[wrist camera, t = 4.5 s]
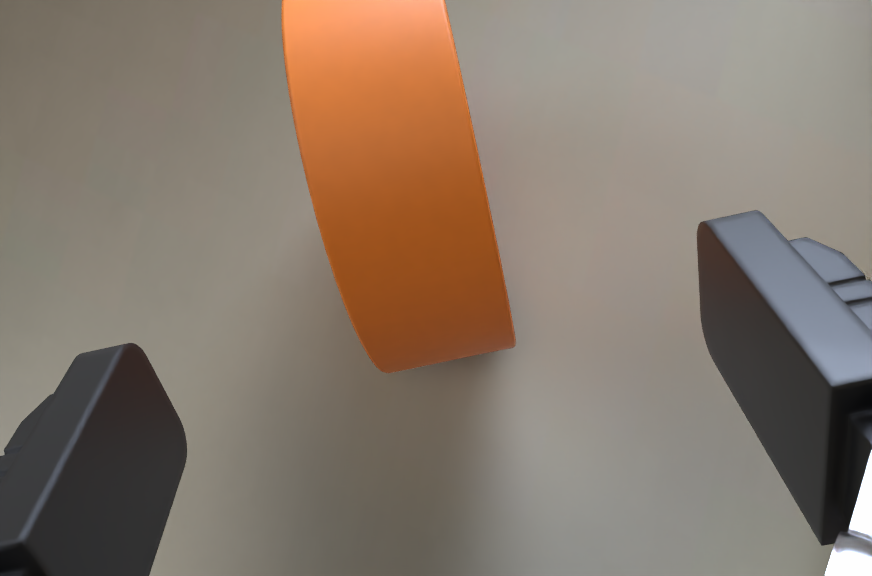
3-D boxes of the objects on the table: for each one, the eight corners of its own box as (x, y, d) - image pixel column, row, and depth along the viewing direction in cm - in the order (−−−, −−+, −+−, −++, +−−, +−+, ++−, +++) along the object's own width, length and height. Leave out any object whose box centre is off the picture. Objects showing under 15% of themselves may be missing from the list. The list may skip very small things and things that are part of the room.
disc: (359, 99, 23) (253, -124, 14) (455, 77, 23) (408, -164, 14) (412, 391, 21) (327, 341, 12) (519, 369, 21) (511, 302, 12)
